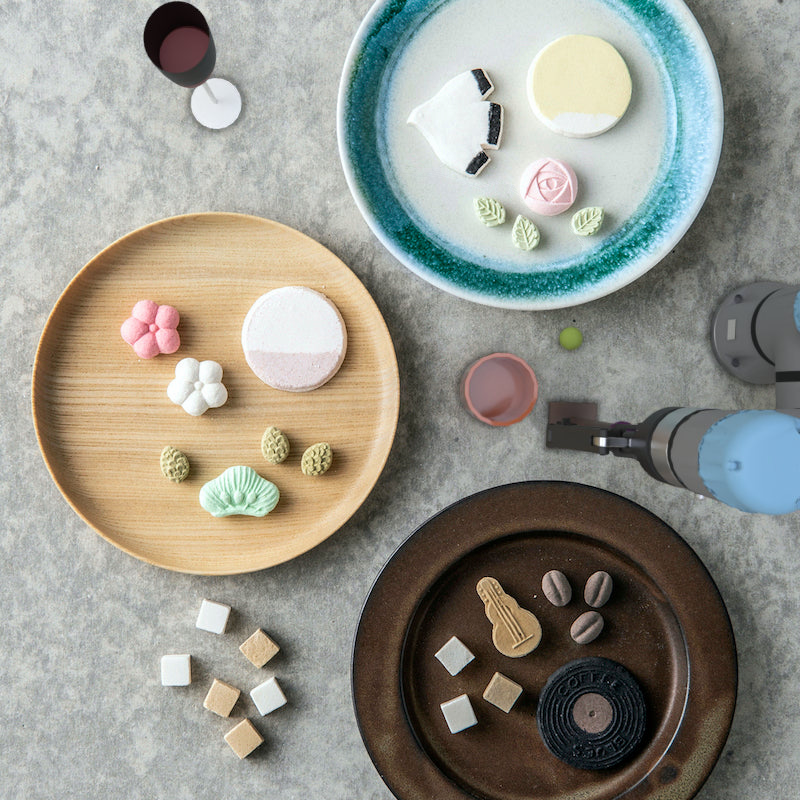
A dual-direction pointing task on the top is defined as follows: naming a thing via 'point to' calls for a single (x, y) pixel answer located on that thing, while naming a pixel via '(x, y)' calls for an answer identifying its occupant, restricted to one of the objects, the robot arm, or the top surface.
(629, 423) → the purple grape
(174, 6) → the wineglass
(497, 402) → the pink bowl
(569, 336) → the green grape
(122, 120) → the top surface
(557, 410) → the stand
